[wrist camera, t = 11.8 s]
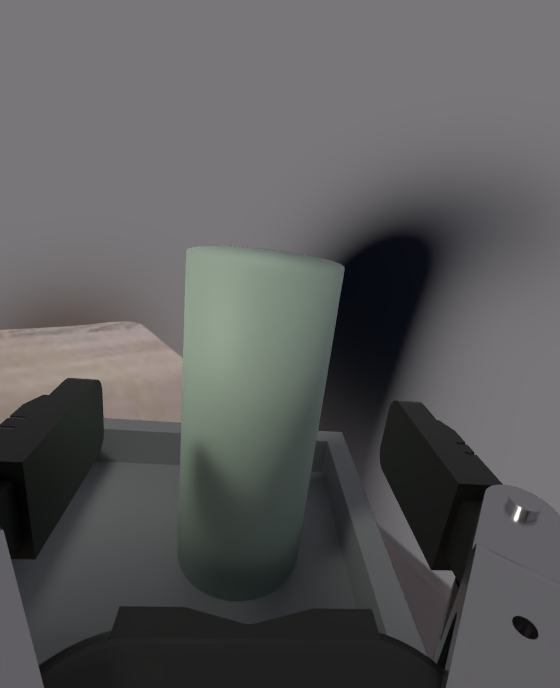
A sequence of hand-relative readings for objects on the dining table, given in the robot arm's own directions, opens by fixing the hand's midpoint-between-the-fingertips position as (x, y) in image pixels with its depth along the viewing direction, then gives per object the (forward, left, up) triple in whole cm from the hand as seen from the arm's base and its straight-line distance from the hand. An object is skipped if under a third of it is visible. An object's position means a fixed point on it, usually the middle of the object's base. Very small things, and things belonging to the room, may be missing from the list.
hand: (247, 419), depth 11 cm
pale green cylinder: (0, +3, -8) cm, 8 cm away
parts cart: (-2, +3, -13) cm, 14 cm away
